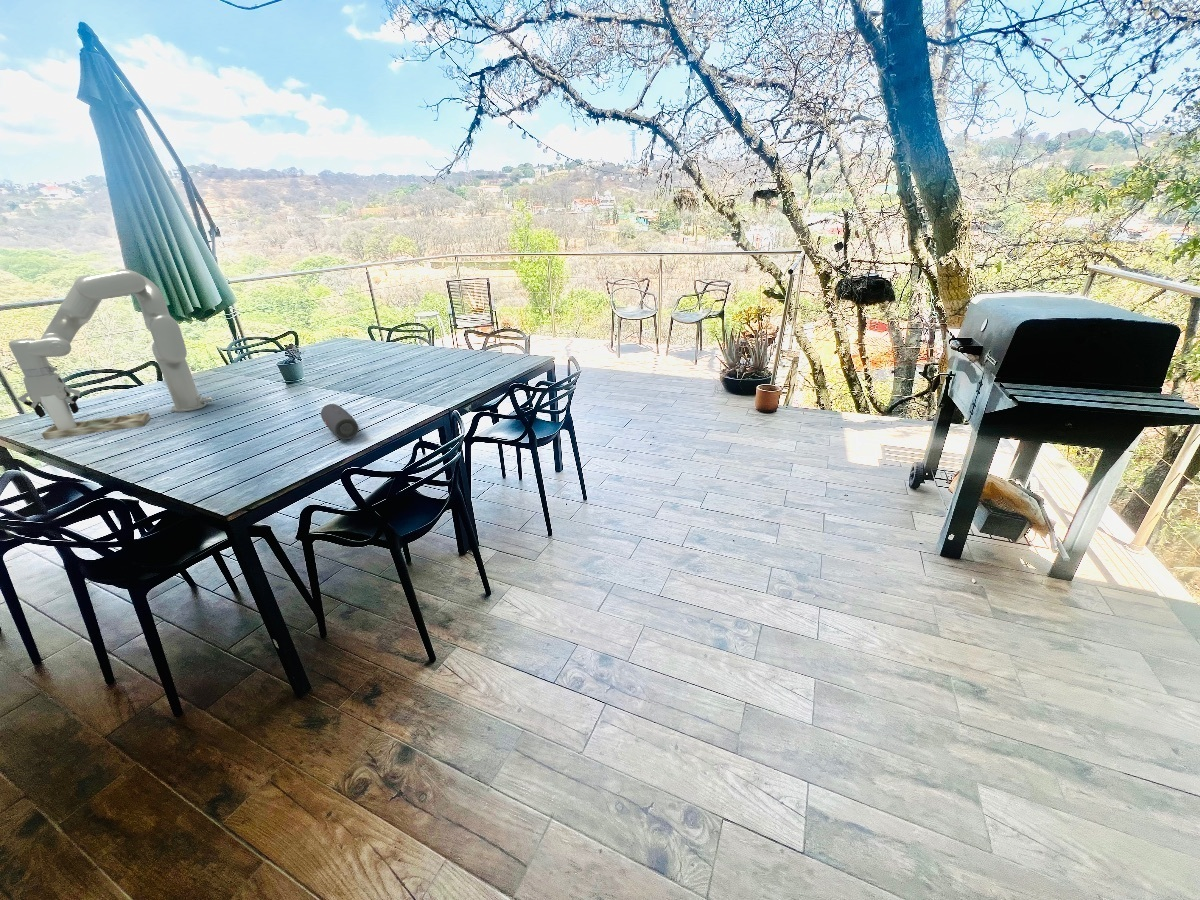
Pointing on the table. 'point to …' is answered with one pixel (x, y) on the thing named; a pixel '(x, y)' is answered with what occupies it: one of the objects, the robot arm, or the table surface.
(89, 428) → the wooden compartment tray
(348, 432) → the bluetooth speaker
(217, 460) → the table surface
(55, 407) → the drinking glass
